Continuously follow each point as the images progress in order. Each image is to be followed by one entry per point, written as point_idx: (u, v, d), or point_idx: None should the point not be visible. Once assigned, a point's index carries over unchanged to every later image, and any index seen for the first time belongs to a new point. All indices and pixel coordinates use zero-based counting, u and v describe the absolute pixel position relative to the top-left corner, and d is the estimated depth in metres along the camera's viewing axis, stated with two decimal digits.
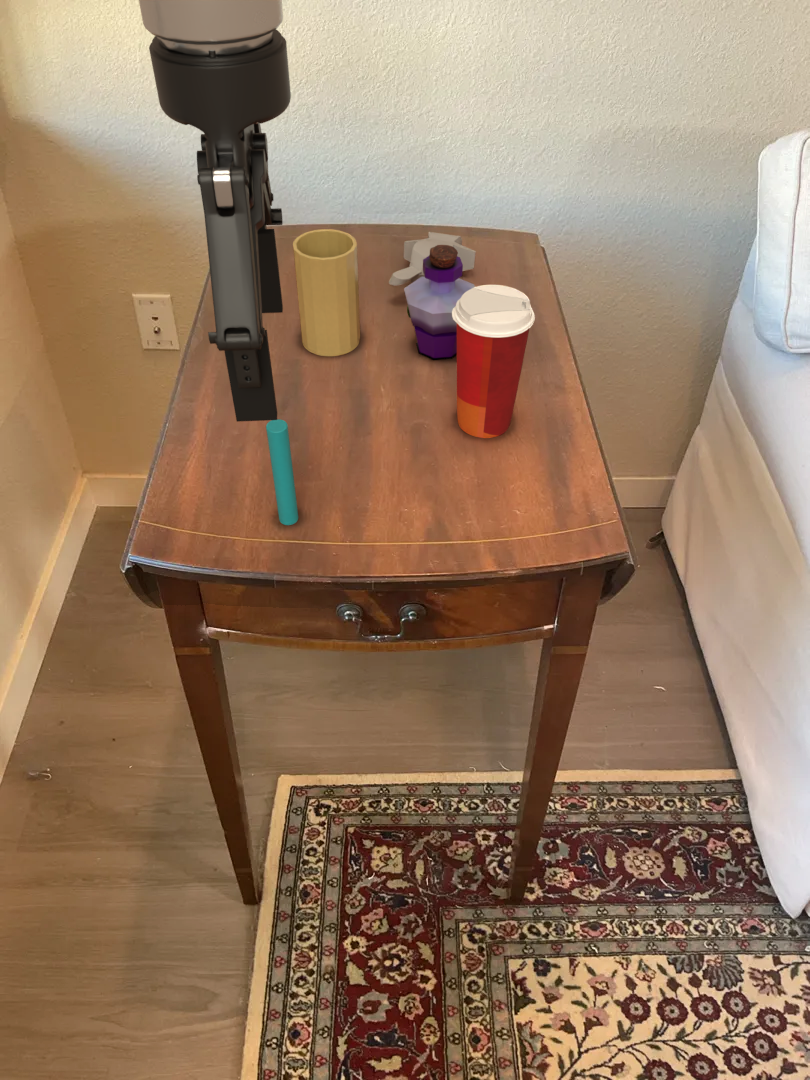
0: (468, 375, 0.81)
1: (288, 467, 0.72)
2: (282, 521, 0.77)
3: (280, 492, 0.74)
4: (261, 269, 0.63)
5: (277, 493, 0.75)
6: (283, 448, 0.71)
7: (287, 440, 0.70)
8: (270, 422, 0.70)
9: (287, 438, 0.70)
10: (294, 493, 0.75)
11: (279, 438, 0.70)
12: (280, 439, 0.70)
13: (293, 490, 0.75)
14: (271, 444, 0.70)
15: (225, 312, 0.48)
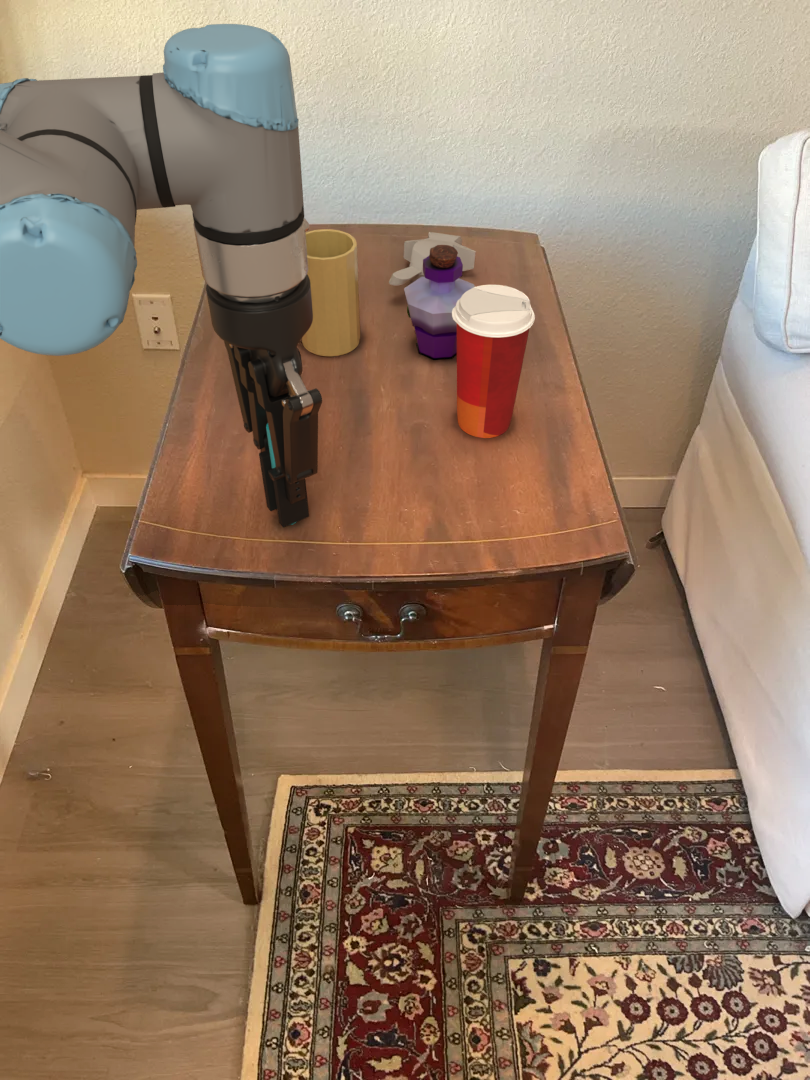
0: (468, 374, 0.81)
1: None
2: None
3: None
4: None
5: None
6: None
7: None
8: None
9: None
10: None
11: None
12: None
13: None
14: (271, 444, 0.70)
15: (297, 464, 0.67)
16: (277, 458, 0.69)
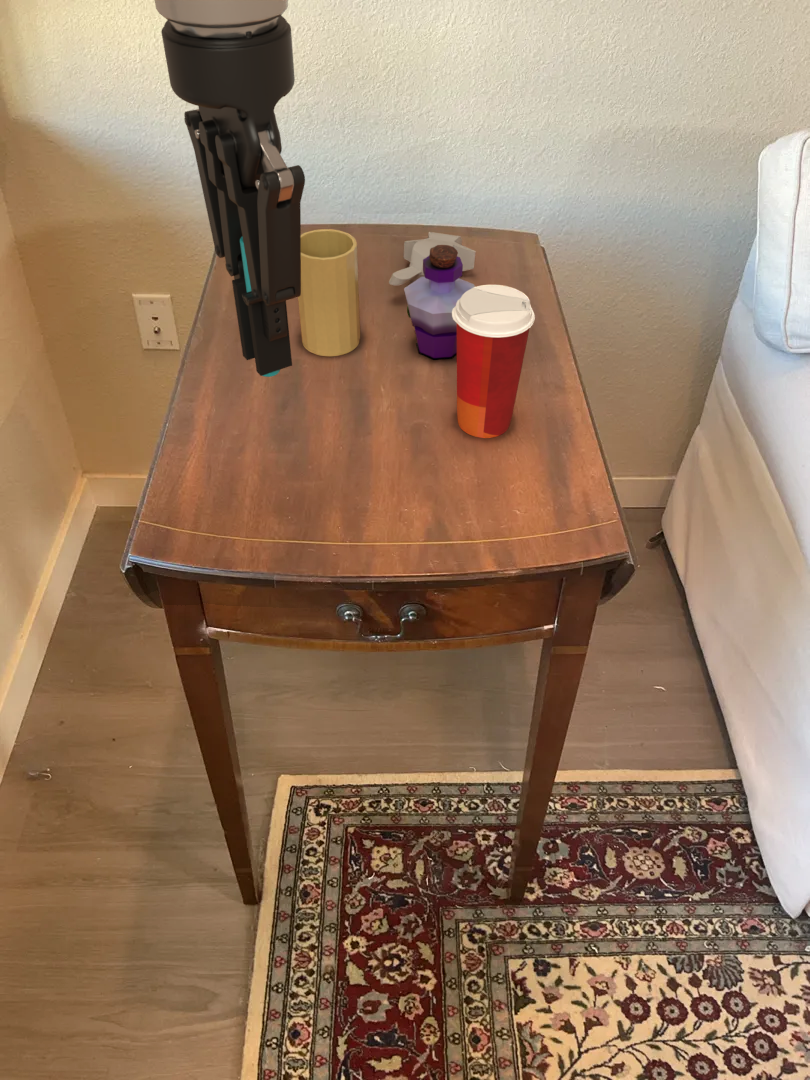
0: (468, 374, 0.81)
1: None
2: None
3: None
4: None
5: None
6: None
7: None
8: None
9: None
10: None
11: None
12: None
13: None
14: (246, 263, 0.59)
15: (275, 278, 0.56)
16: (253, 275, 0.57)
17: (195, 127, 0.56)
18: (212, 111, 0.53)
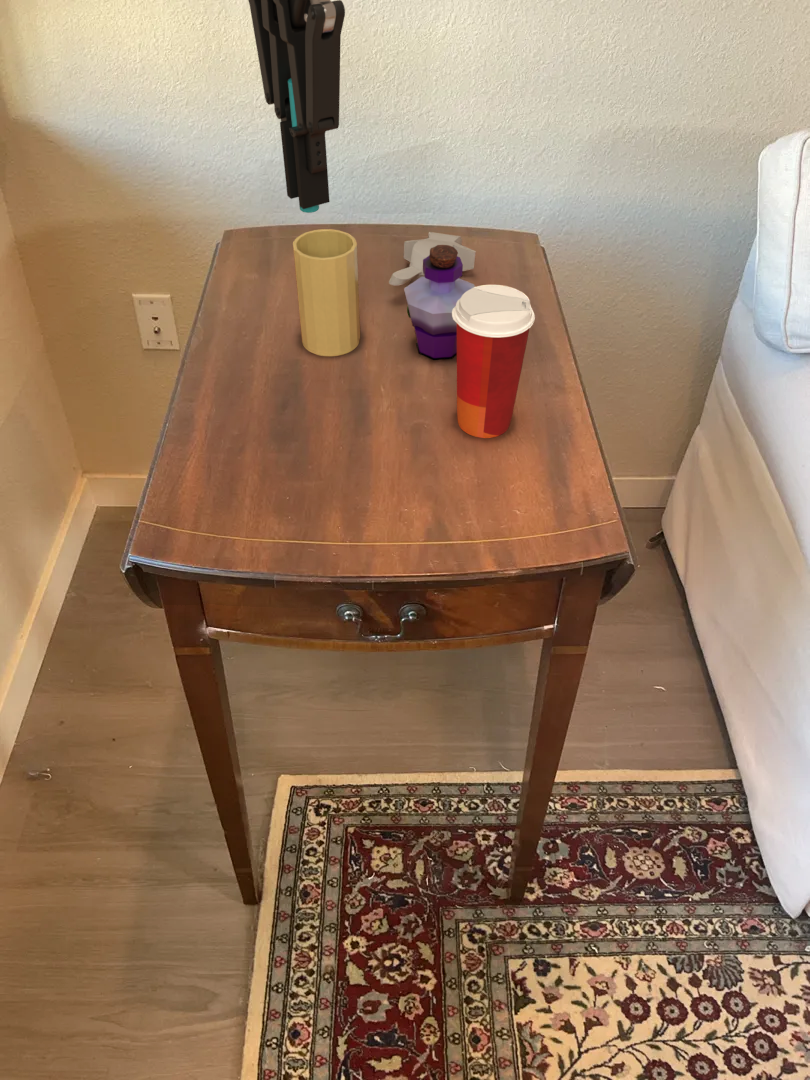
0: (468, 375, 0.81)
1: None
2: None
3: None
4: None
5: None
6: None
7: None
8: None
9: None
10: None
11: None
12: None
13: None
14: (293, 101, 0.70)
15: (318, 107, 0.67)
16: (299, 108, 0.69)
17: None
18: None
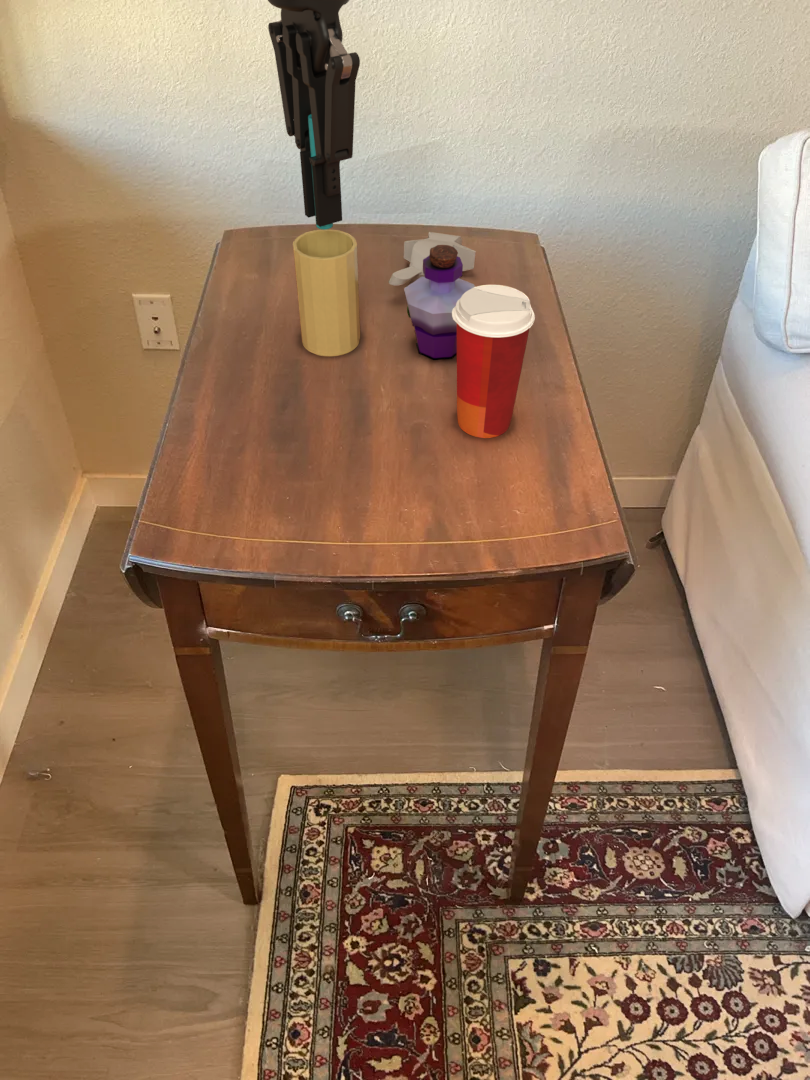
0: (468, 375, 0.81)
1: None
2: None
3: None
4: None
5: None
6: None
7: None
8: None
9: None
10: None
11: None
12: None
13: None
14: (312, 134, 0.81)
15: (335, 141, 0.78)
16: (318, 141, 0.80)
17: (277, 33, 0.79)
18: (293, 18, 0.75)
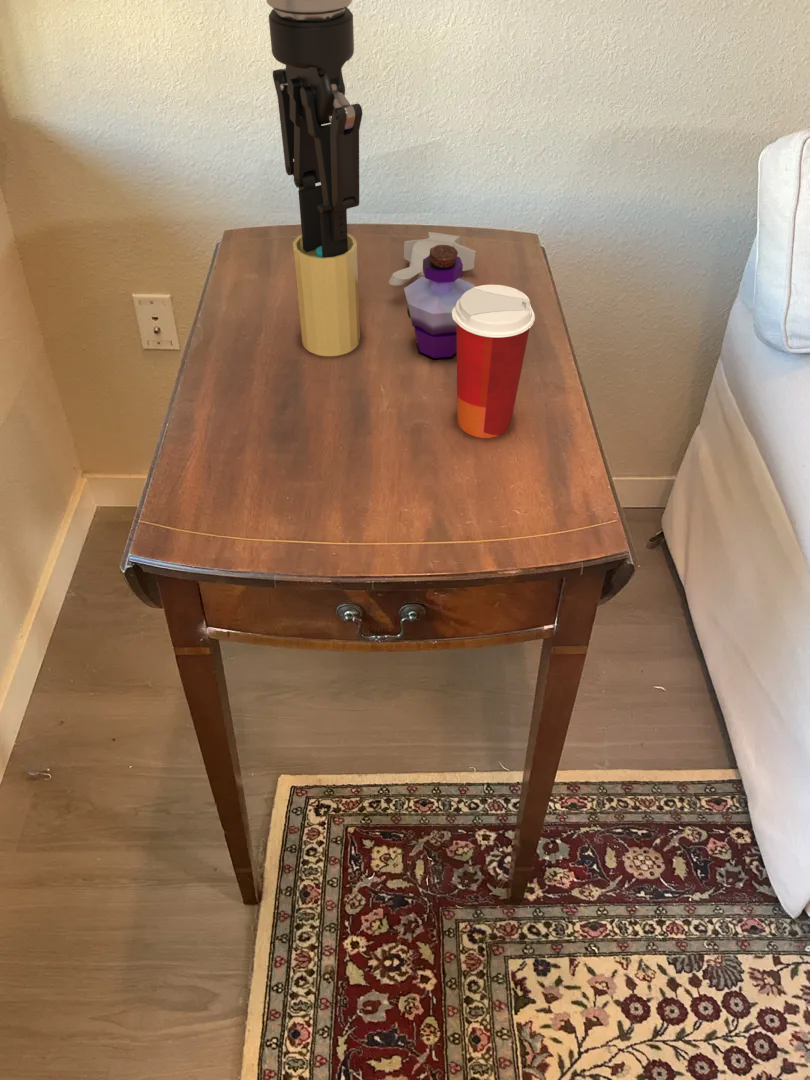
0: (468, 375, 0.81)
1: None
2: None
3: None
4: (316, 216, 0.89)
5: None
6: None
7: None
8: (319, 247, 0.90)
9: None
10: None
11: None
12: None
13: None
14: None
15: (342, 189, 0.81)
16: (325, 189, 0.82)
17: (281, 81, 0.82)
18: (297, 72, 0.78)
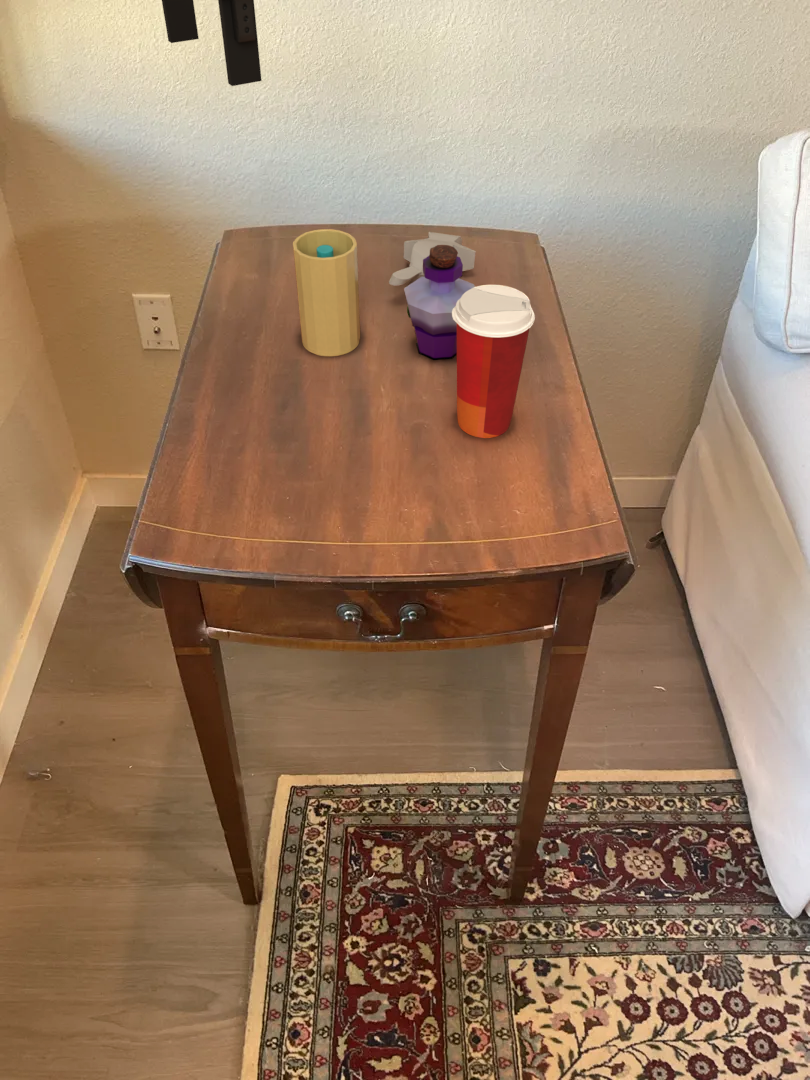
0: (468, 375, 0.81)
1: None
2: None
3: None
4: None
5: None
6: None
7: None
8: (319, 246, 0.91)
9: None
10: None
11: None
12: None
13: None
14: None
15: None
16: None
17: None
18: None
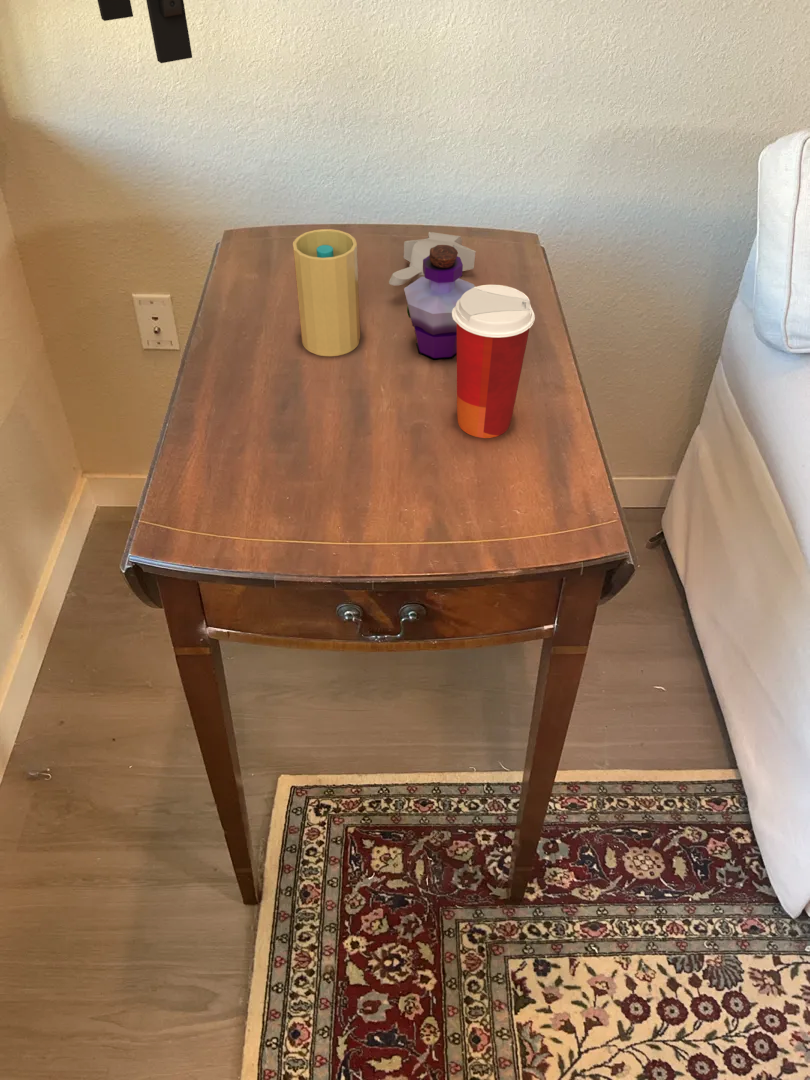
0: (468, 375, 0.81)
1: None
2: None
3: None
4: None
5: None
6: None
7: None
8: (319, 246, 0.91)
9: None
10: None
11: None
12: None
13: None
14: None
15: None
16: None
17: None
18: None
